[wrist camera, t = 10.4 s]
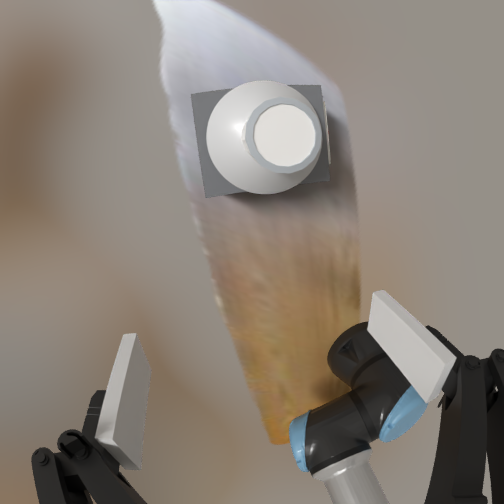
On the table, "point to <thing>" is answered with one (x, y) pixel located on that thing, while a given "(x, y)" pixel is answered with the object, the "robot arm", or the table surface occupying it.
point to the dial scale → (230, 145)
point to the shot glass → (282, 135)
